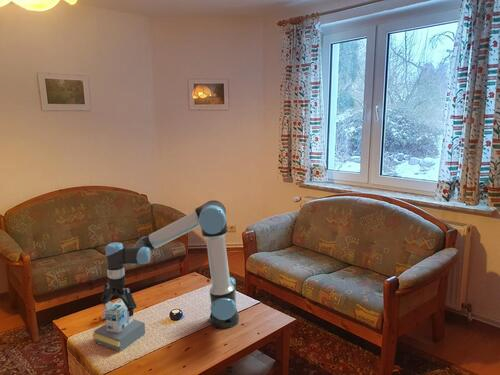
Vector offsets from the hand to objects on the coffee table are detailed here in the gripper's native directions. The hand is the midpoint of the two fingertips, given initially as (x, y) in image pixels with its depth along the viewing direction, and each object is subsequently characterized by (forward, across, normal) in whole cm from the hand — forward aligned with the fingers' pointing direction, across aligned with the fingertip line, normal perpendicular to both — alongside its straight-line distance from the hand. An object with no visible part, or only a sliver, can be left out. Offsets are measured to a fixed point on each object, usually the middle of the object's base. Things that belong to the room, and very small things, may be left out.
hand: (119, 318), depth 178 cm
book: (+10, 0, 0) cm, 10 cm away
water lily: (+10, -18, +13) cm, 25 cm away
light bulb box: (+4, 0, 0) cm, 4 cm away
